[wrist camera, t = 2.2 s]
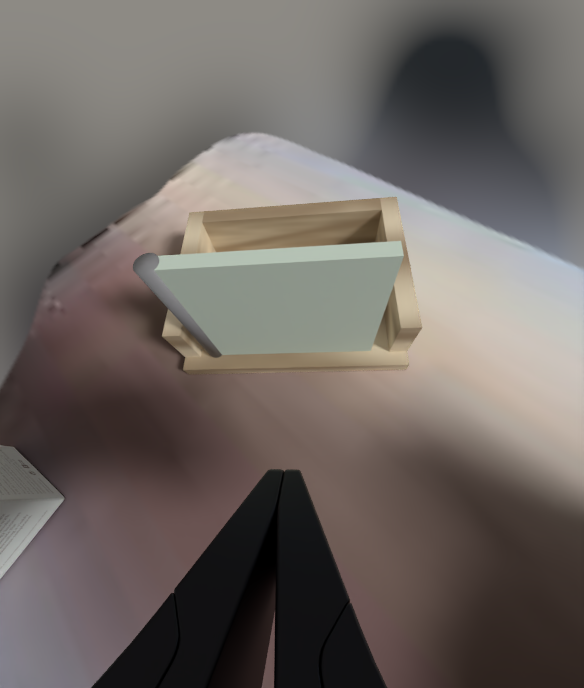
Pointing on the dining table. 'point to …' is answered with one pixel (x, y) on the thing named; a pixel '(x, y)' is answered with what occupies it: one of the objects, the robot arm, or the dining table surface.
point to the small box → (22, 504)
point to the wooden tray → (303, 231)
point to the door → (278, 296)
